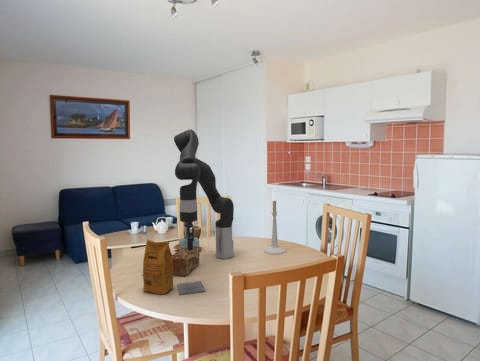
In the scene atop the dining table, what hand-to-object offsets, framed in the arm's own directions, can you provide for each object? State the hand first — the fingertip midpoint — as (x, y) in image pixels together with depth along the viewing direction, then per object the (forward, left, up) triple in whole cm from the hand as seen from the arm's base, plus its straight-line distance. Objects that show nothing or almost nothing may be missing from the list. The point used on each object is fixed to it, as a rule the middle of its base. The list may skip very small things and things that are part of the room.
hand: (189, 247), depth 155 cm
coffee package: (+14, -3, -18) cm, 23 cm away
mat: (0, 0, -18) cm, 18 cm away
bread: (0, -25, -19) cm, 31 cm away
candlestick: (-54, -38, -18) cm, 69 cm away
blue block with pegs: (0, 0, -4) cm, 4 cm away
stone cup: (-7, -56, -18) cm, 59 cm away
